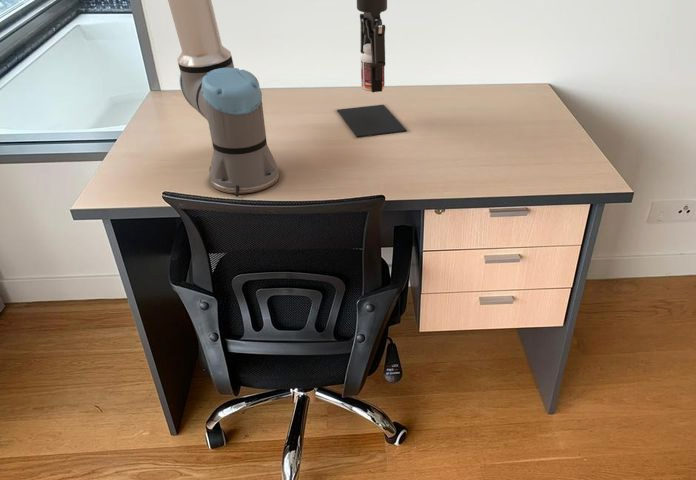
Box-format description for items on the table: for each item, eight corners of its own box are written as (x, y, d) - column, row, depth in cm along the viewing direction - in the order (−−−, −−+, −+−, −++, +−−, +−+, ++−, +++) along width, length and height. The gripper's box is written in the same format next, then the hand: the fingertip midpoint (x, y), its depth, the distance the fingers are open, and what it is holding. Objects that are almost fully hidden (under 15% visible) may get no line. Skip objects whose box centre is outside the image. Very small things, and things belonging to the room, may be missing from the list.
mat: (406, 131, 158) (406, 129, 158) (356, 137, 154) (356, 136, 154) (383, 105, 173) (383, 104, 173) (337, 110, 170) (337, 109, 169)
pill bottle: (389, 88, 157) (389, 46, 150) (372, 94, 153) (371, 50, 147) (373, 83, 160) (373, 41, 154) (356, 88, 157) (355, 45, 150)
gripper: (399, 0, 137) (398, 97, 150) (374, -16, 151) (375, 74, 165) (368, 2, 134) (370, 100, 148) (346, -14, 149) (349, 77, 163)
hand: (372, 86), depth 156 cm, fingers closed on pill bottle, 6 cm apart
